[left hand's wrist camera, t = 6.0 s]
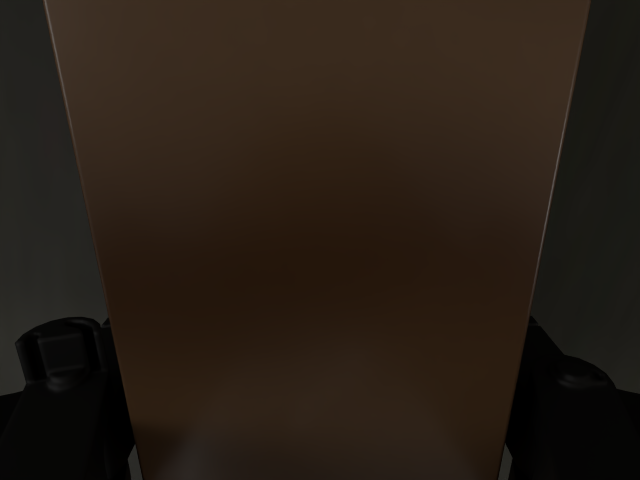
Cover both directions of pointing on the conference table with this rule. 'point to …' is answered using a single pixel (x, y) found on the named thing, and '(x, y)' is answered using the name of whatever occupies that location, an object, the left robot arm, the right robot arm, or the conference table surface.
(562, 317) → the conference table surface
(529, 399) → the left robot arm
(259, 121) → the beam
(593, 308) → the conference table surface
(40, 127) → the conference table surface
